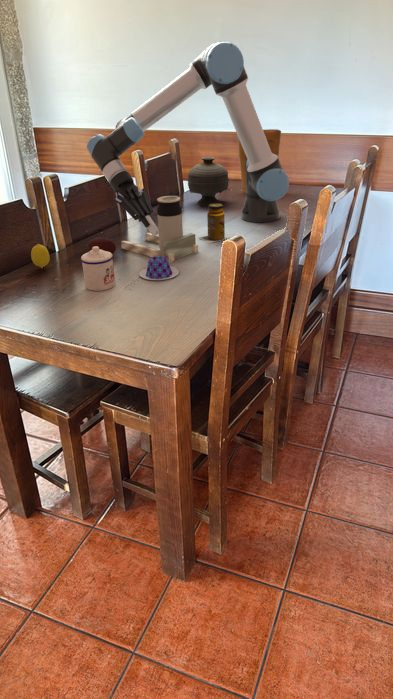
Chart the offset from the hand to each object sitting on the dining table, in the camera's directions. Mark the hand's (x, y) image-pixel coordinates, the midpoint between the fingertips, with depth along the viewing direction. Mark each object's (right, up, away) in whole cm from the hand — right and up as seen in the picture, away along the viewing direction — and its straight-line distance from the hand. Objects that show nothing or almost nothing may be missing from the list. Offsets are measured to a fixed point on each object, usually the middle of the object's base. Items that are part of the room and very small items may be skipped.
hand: (156, 233), depth 179 cm
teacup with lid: (-14, -20, -22) cm, 33 cm away
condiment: (+20, 0, +12) cm, 23 cm away
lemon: (-36, -13, -9) cm, 39 cm away
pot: (+19, +26, +57) cm, 65 cm away
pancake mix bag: (+43, +34, +70) cm, 89 cm away
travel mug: (+5, -7, 0) cm, 8 cm away
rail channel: (+1, -5, +2) cm, 6 cm away
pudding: (+2, -17, -17) cm, 24 cm away
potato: (-18, -8, 0) cm, 20 cm away
